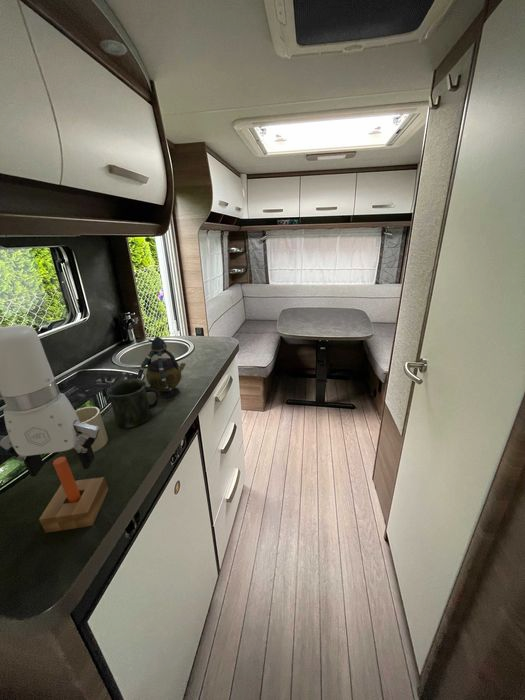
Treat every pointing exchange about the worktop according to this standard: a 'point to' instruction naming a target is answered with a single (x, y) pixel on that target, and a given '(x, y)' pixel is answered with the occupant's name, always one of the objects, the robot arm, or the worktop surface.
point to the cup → (93, 418)
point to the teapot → (162, 371)
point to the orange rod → (67, 479)
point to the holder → (75, 506)
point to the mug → (131, 402)
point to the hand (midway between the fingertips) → (64, 467)
